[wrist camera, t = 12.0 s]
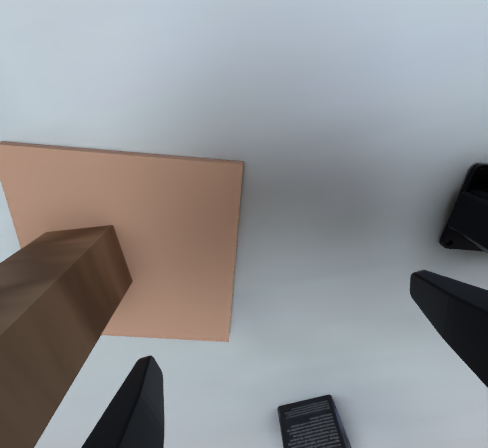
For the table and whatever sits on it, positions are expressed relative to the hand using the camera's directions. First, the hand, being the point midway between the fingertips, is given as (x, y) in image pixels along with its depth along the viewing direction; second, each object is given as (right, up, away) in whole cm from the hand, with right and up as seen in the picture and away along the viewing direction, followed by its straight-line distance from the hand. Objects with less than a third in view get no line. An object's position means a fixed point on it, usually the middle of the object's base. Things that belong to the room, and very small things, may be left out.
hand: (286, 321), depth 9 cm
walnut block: (-13, +1, +12) cm, 17 cm away
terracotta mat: (-10, +1, +13) cm, 16 cm away
